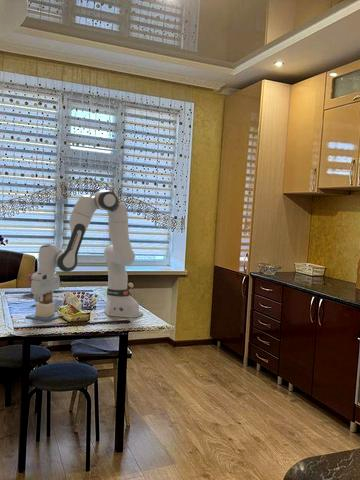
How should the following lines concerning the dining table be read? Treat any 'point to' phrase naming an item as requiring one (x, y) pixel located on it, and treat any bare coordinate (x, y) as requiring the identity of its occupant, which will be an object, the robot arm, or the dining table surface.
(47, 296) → the walnut block
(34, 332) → the dining table surface
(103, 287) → the dining table surface
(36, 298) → the donut
